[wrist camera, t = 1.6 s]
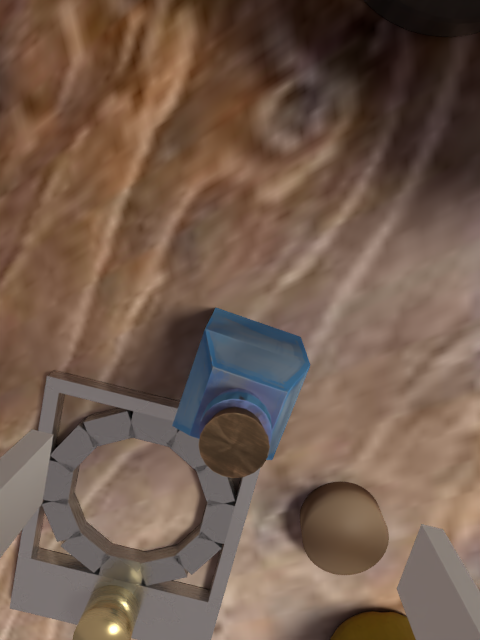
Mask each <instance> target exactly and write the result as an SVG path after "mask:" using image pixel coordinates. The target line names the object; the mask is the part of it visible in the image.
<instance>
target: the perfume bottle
mask: <svg viewBox="0 0 480 640" xmlns="http://www.w3.org/2000/svg"><path fill="white" fill-rule="evenodd" d="M309 367H310V363H309V360H308V357H307V354H306V351H305V348H304V345H303V343H302V340H301V337H299V336H296V335H293V334H290V333H288V332H285V331H282V330H279V329H276V328H273V327H270V326H267V325H265V324H262V323H259V322H256V321H253V320H250V319H247V318H244V317H242V316H239V315H236V314H233V313H230V312H227V311H224V310H222V309H219V308H215V310H214V312H213V314H212V316H211V318H210V320H209V322H208V324H207V326H206V328H205V330H204V333H203V336H202V339H201V342H200V345H199V348H198V351H197V354H196V357H195V360H194V363H193V366H192V369H191V372H190V375H189V378H188V381H187V383H186V386H185V389H184V392H183V395H182V398H181V401H180V404H179V407H178V410H177V413H176V416H175V419H174V422H173V425H172V426H173V427H175V428H177V429H179V430H180V431H182V432H184V433H186V434H188V435H189V436H192V437H195V438H198V439H199V444H198V445H199V451H200V455H201V457H202V459H203V461H204V463H205V464H206V465H207V466H208V467H209V468H210V469H211V470H212V471H214V472H216V473H218V474H220V475H222V476H225V477H230V478H239V477H245V476H248V475H250V474H253V473H255V472H256V471H257V470H258V469H259V468H261V467H262V466H263V464H264V462H265V461H266V460H272V459H273V457H274V454H275V452H276V449H277V447H278V444H279V442H280V439H281V437H282V434H283V432H284V429H285V427H286V424H287V422H288V419H289V417H290V414H291V412H292V409H293V407H294V405H295V402H296V400H297V397H298V395H299V392H300V390H301V387H302V385H303V382H304V380H305V377H306V375H307V372H308V370H309Z"/></svg>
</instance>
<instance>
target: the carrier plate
mask: <svg viewBox="0 0 480 640" xmlns="http://www.w3.org/2000/svg"><path fill="white" fill-rule="evenodd" d="M65 394H67V395H71V396H75V397H79V398H83V399H87V400H91V401H95V402H99V403H103V404H107V405H111V406H115V407H119V408H116V409H112V410H108V411H104V412H100V413H96V414H93V415H90V416H89V417H88V418H87V419H86V418H84V420H83V421H82V422H81V423H80V424H79V425H78V426H77V427H76V428H75V429H74V430H73V431H72V432H71V433H70V434H69V435H68V436H67V437H66V438H65V439H64V440H63V441H62V442H61V443H60V445H59V446H58V447H57V448H56V442H57V436H58V430H59V425H60V419H61V413H62V407H63V401H64V395H65ZM179 404H180V402H179V401H175V400H171V399H167V398H163V397H159V396H155V395H151V394H147V393H143V392H139V391H135V390H131V389H127V388H123V387H119V386H115V385H111V384H107V383H103V382H99V381H95V380H91V379H87V378H83V377H79V376H75V375H71V374H67V373H64V372H60V371H56V370H54V371H53V372H52V373H50V374H49V375H48V376H47V379H46V385H45V391H44V398H43V404H42V410H41V416H40V423H39V429H38V431H41V432H45V433H49V434H53V441H52V447H51V453H50V459H49V465H48V471H47V478H46V484H45V490H44V496H43V502H42V504H41V506H40V507H39V508H38V509H37V511H36V512H35V513H34V515H33V516H32V517H31V519H30V520H29V521H28V522H27V524H26V525H25V526H24V528H23V529H22V535H21V541H20V547H19V553H18V560H17V566H16V572H15V578H14V585H13V591H12V597H11V603H10V608H11V609H15V610H19V611H23V612H27V613H31V614H35V615H40V616H44V617H48V618H52V619H56V620H60V621H64V622H68V623H72V624H76V625H77V627H76V629H75V632H74V635H73V640H131V638H134V639H138V640H211V638H212V634H213V631H214V627H215V624H216V620H217V617H218V613H219V610H220V606H221V603H222V599H223V596H224V592H225V589H226V585H227V582H228V578H229V575H230V571H231V568H232V565H233V561H234V558H235V554H236V551H237V547H238V544H239V540H240V537H241V533H242V530H243V526H244V523H245V519H246V516H247V512H248V509H249V505H250V502H251V499H252V495H253V492H254V488H255V485H256V481H257V478H258V474H259V471H260V468H259V469H258V470H257V471H256V472H255V473H253V474H250V475H248V476H245V477H241V480H240V483H239V487H238V491H237V494H236V490H235V487H234V484H233V481H232V478H230V477H225V476H222V475H220V474H218V473H216V472H214V471H212V470H211V469H210V468H209V467H208V466H207V465H206V464H205V463H204V461H203V459H202V457H201V455H200V451H199V445H198V444H199V439H198V438H195V437H192V436H189V435H188V434H186V433H184V432H182V431H180V430H179V429H177V428H175V427H173V426H172V425H173V422H174V419H175V416H176V413H177V410H178V407H179ZM129 438H136V439H140V440H144V441H148V442H152V443H156V444H160V445H164V446H168V447H170V448H171V449H172V450H173V451H174V452H175V453H177V454H178V455H179V456H180V457H181V458H182V459H183V460H184V461H186V462H187V463H188V464H189V465H190V466H191V467H192V468H194V469H195V470H196V471H197V474H198V477H199V480H200V483H201V486H202V489H203V492H204V495H205V498H206V501H207V504H206V508H205V511H204V515H203V519H202V523H201V524H200V525H199V526H198V527H197V528H196V529H195V530H194V531H193V532H191V533H190V534H189V535H188V536H187V537H186V538H185V539H184V540H183V541H181V542H180V543H179V544H178V545H174V546H170V547H165V548H161V549H156V550H152V551H147V552H144V551H140V550H136V549H132V548H128V547H124V546H120V545H116V544H112V543H111V542H110V541H109V540H107V539H106V538H105V537H104V536H103V535H101V534H100V533H99V532H98V531H97V530H95V529H94V528H93V527H92V526H90V525H89V524H88V523H87V522H86V520H85V517H84V515H83V512H82V510H81V507H80V505H79V502H78V500H77V497H76V495H75V487H76V481H77V476H78V471H79V465H80V463H81V462H82V461H83V460H84V459H85V458H86V457H87V456H88V455H89V454H90V453H91V452H92V451H93V450H94V449H95V448H96V447H97V446H101V445H105V444H109V443H113V442H117V441H121V440H125V439H129ZM55 448H56V449H55ZM235 494H236V496H235ZM44 512H45V513H46V516H47V518H48V521H49V523H50V525H51V528H52V530H53V532H54V535H55V537H56V540H57V542H58V541H63V540H64V542H63V543H62V545H61V547H62V548H64V549H65V550H66V551H67V552H69V553H70V554H71V555H72V556H70V555H66V554H62V553H58V552H54V551H50V550H46V549H42V548H38V547H39V541H40V535H41V530H42V524H43V518H44ZM219 550H221V552H220V555H219V559H218V562H217V566H216V570H215V573H214V577H213V580H212V584H211V587H210V590H208V589H204V588H200V587H196V586H192V585H188V584H184V583H180V582H176V581H172V580H176V579H180V578H185V577H187V574H188V572H189V573H190V574H191V575H192V574H193V573H194V572H195V571H197V570H198V569H199V568H200V567H201V566H202V565H203V564H205V563H206V562H207V561H208V560H209V559H210V558H211V557H213V556H214V555H215V554H216V553H217V552H218V551H219Z"/></svg>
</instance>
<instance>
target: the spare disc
mask: <svg viewBox="0 0 480 640" xmlns="http://www.w3.org/2000/svg"><path fill="white" fill-rule="evenodd" d="M300 525H301V532H302V540H303V545H304V549H305V552H306V554H307V555H308V557H309V558H310V560H311V561H312V562H313V563H314V564H315V565H316V566H318V567H319V568H321V569H323V570H325V571H327V572H329V573H333V574H338V575H352V574H357V573H361V572H363V571H366V570H368V569H369V568H371V567H372V566H374V565H375V564H376V563H377V562H378V561H379V560H380V559H381V558H382V556H383V555H384V553H385V551H386V549H387V546H388V540H389V534H388V529H387V526H386V523H385V521H384V518H383V516H382V514H381V511H380V509H379V506H378V504H377V502H376V500H375V499H374V497H373V496H372V495H371V494H370V493H369V492H368V491H367V490H366V489H364V488H362V487H360V486H358V485H356V484H353V483H348V482H333V483H328V484H325V485H323V486H320V487H319V488H317V489H315V490H314V491H313V492H312V493H311V494H310V495H309V496H308V497H307V498H306V499H305V501H304V503H303V505H302V507H301V511H300Z"/></svg>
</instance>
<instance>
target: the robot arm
mask: <svg viewBox="0 0 480 640" xmlns="http://www.w3.org/2000/svg"><path fill="white" fill-rule="evenodd" d="M364 1H365V2H366V3H367V4H368V5H369V6H370V7H371V8H372V9H373V10H374V11H376V12H377V13H378V14H380V15H381V16H382V17H384V18H385V19H387V20H389V21H390V22H392V23H394V24H396V25H398V26H400V27H402V28H405V29H407V30H410V31H413V32H416V33H420V34H425V35H431V36H443V37H451V36H463V35H469V34H475V33H479V32H480V0H364ZM52 441H53V434H49V433H45V432H41V431H37V430H33V429H32V430H31V431H29V432H28V433H27V434H26V435H25V436H24V437H23V438H22V439H21V440H20V441H19V442H17V443H16V444H15V445H14V446H13V447H12V448H11V449H10V450H9V451H8V452H6V453H5V454H4V455H3V456H2V457H1V458H0V557H1V556H2V555H3V554H4V552H5V551H6V550H7V548H8V547H9V546H10V544H11V543H12V542H13V541H14V539H15V538H16V537H17V535H18V534H19V533H20V532H21V530H22V529H23V528H24V526H25V525H26V524H27V522H28V521H29V520H30V519H31V517H32V516H33V515H34V513H35V512H36V511H37V509H38V508H39V507H40V506H41V504H42V502H43V496H44V490H45V484H46V478H47V471H48V465H49V459H50V453H51V447H52ZM397 591H398V593H399V596H400V599H401V601H402V604H403V607H404V609H405V612H406V615H407V618H408V620H409V623H410V626H411V628H412V631H413V634H414V636H415V639H416V640H480V591H479V589H478V588H477V586H476V584H475V583H474V581H473V579H472V578H471V576H470V574H469V573H468V571H467V569H466V567H465V566H464V564H463V562H462V561H461V559H460V557H459V556H458V554H457V552H456V551H455V549H454V547H453V546H452V544H451V542H450V540H449V539H448V537H447V535H446V534H445V532H444V530H443V529H440V528H435V527H431V526H427V525H423V524H421V527H420V530H419V532H418V535H417V537H416V540H415V543H414V545H413V548H412V550H411V553H410V556H409V558H408V561H407V564H406V566H405V569H404V571H403V574H402V577H401V579H400V582H399V584H398V587H397Z"/></svg>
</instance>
